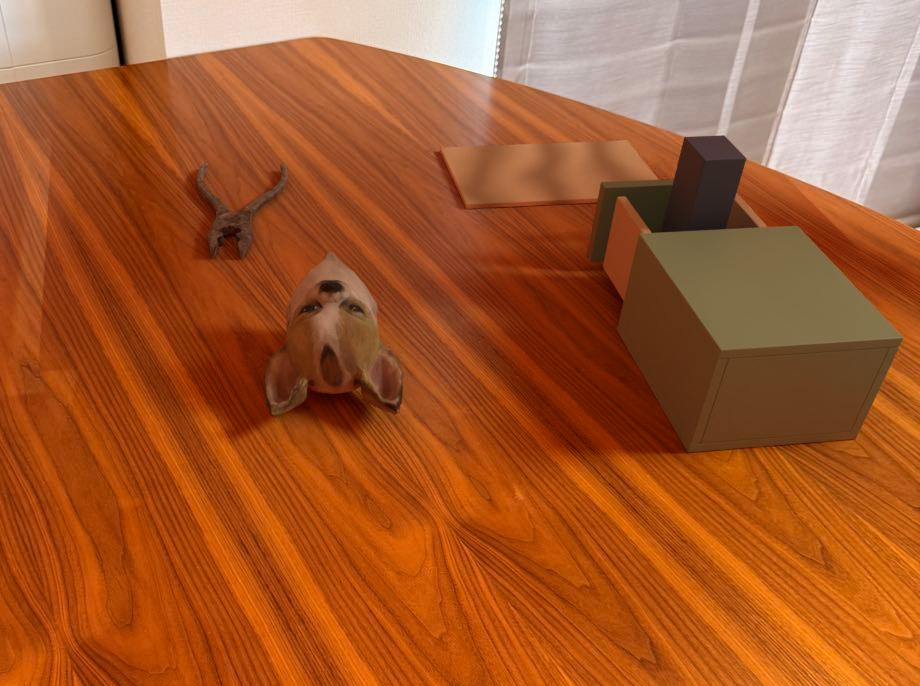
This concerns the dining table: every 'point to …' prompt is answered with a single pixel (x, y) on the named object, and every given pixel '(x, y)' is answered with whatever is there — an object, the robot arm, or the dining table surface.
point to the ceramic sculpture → (332, 344)
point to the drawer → (639, 223)
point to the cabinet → (753, 338)
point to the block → (704, 185)
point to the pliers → (234, 214)
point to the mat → (541, 172)
